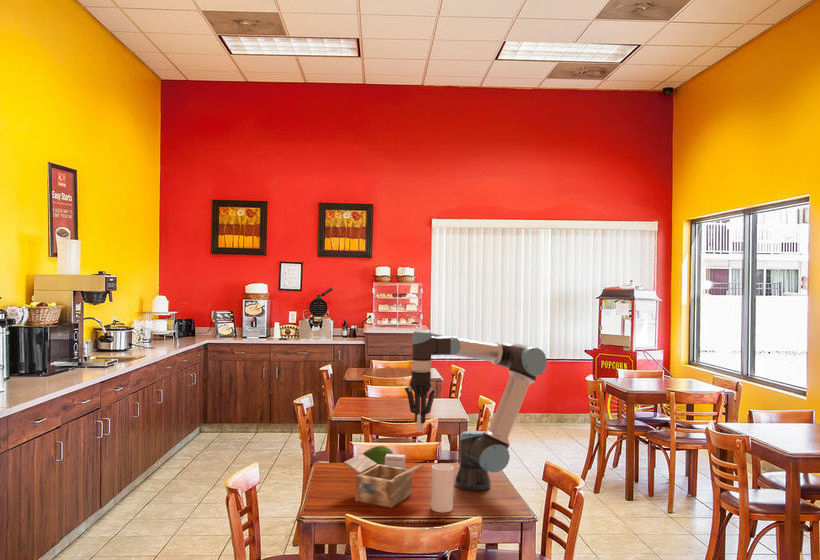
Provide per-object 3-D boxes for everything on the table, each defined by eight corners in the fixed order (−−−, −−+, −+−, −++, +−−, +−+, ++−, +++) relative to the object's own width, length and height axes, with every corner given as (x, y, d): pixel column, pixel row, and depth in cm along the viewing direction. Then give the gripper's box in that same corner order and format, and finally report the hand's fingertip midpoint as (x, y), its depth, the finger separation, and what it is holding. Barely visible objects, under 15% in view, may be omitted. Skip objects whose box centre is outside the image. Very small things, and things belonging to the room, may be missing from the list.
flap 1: (376, 463, 259) (361, 453, 262) (360, 472, 246) (344, 461, 249) (376, 464, 259) (361, 455, 262) (359, 473, 246) (343, 463, 250)
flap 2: (409, 470, 252) (426, 464, 249) (393, 479, 240) (411, 474, 237) (409, 468, 252) (425, 463, 249) (393, 477, 240) (410, 472, 237)
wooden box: (412, 493, 254) (413, 469, 255) (390, 508, 237) (391, 482, 237) (378, 487, 261) (378, 463, 261) (354, 501, 244) (355, 476, 244)
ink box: (405, 481, 271) (405, 454, 271) (403, 485, 266) (404, 457, 266) (385, 480, 271) (386, 453, 271) (384, 483, 266) (384, 456, 267)
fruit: (360, 470, 285) (361, 448, 285) (362, 464, 295) (362, 443, 295) (393, 470, 285) (394, 449, 286) (393, 464, 295) (394, 443, 295)
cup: (430, 504, 242) (430, 463, 242) (450, 504, 243) (451, 463, 243) (432, 512, 234) (433, 469, 234) (454, 512, 235) (455, 469, 235)
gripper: (440, 371, 244) (439, 431, 244) (410, 368, 249) (409, 427, 249) (432, 373, 237) (431, 435, 237) (402, 370, 243) (400, 431, 242)
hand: (419, 431), depth 243 cm, fingers closed
